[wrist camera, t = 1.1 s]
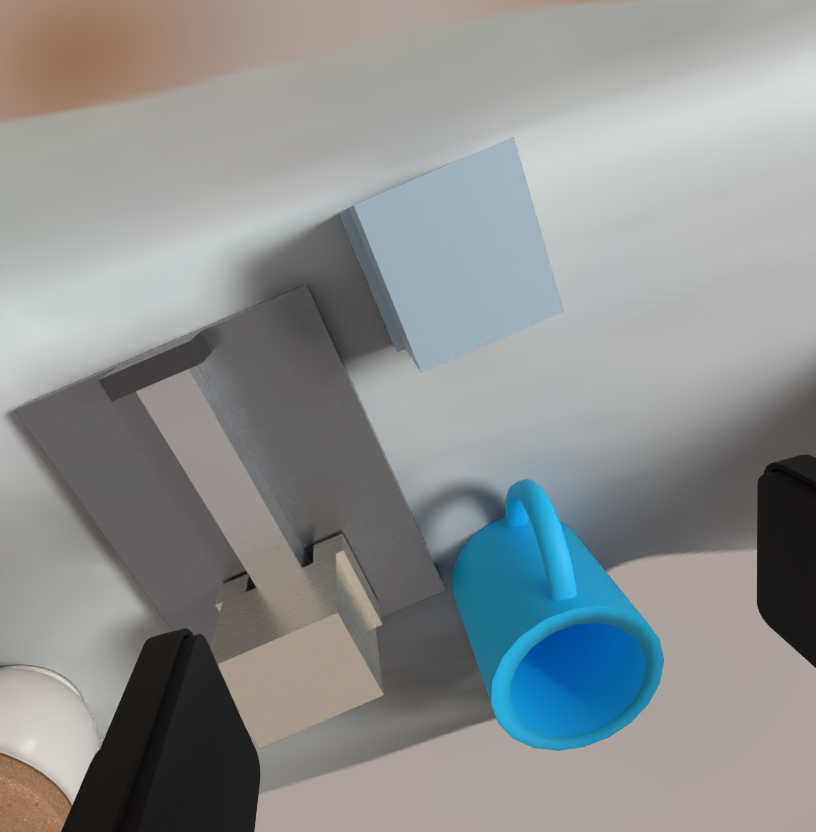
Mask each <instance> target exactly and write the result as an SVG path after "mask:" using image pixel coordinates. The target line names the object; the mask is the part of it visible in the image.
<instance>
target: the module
mask: <svg viewBox="0 0 816 832" xmlns="http://www.w3.org/2000/svg"><path fill="white" fill-rule="evenodd" d="M339 215H340V217H341V220H342V222H343V224H344V227H345V229H346V232H347V234H348V236H349V239H350V241H351V244H352V246H353V249H354V251H355V253H356V256H357V258H358V261H359V263H360V265H361V268H362V270H363V273H364V275H365V277H366V280H367V282H368V285H369V287H370V290H371V292H372V294H373V297H374V299H375V302H376V304H377V306H378V309H379V311H380V314H381V316H382V318H383V321H384V323H385V326H386V328H387V331H388V333H389V335H390V338H391V340H392V343H393V345H394V347H395V348H396V350H397V352H399V351H401V350H403V349H406V350H407V352H408V353H409V355H410V356H411V358H412V359H413V361H414V362H415V364H416V365H417V367H418V368H419V370H420V371H421V372H424V371H426V370H428V369H431V368H433V367H435V366H438V365H440V364H442V363H445V362H447V361H449V360H452V359H454V358H456V357H459V356H461V355H463V354H466V353H468V352H470V351H473V350H475V349H477V348H480V347H482V346H484V345H487V344H489V343H491V342H494V341H496V340H498V339H501V338H503V337H505V336H508V335H510V334H513V333H515V332H517V331H520V330H522V329H524V328H527V327H529V326H531V325H534V324H536V323H538V322H541V321H543V320H545V319H548V318H550V317H552V316H555V315H557V314H559V313H562V312H564V310H563V307H562V303H561V300H560V296H559V293H558V290H557V286H556V283H555V279H554V276H553V272H552V269H551V265H550V262H549V258H548V255H547V251H546V248H545V244H544V241H543V237H542V234H541V230H540V227H539V223H538V220H537V216H536V213H535V210H534V206H533V203H532V199H531V196H530V192H529V189H528V185H527V182H526V178H525V175H524V171H523V168H522V164H521V161H520V157H519V154H518V150H517V147H516V143H515V140H514V137H512V138H510V139H507V140H505V141H503V142H500V143H498V144H496V145H493V146H491V147H489V148H486V149H484V150H482V151H479V152H477V153H475V154H472V155H470V156H468V157H465V158H463V159H461V160H458V161H456V162H453V163H451V164H449V165H446V166H444V167H442V168H439V169H437V170H435V171H432V172H430V173H428V174H425V175H423V176H421V177H418V178H416V179H414V180H411V181H409V182H406V183H404V184H402V185H399V186H397V187H395V188H392V189H390V190H388V191H385V192H383V193H381V194H378V195H376V196H374V197H371V198H369V199H367V200H364V201H362V202H360V203H357V204H355V205H353V206H351V207H350V208H348V209H346V210H344V211H341V212H339Z"/></svg>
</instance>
